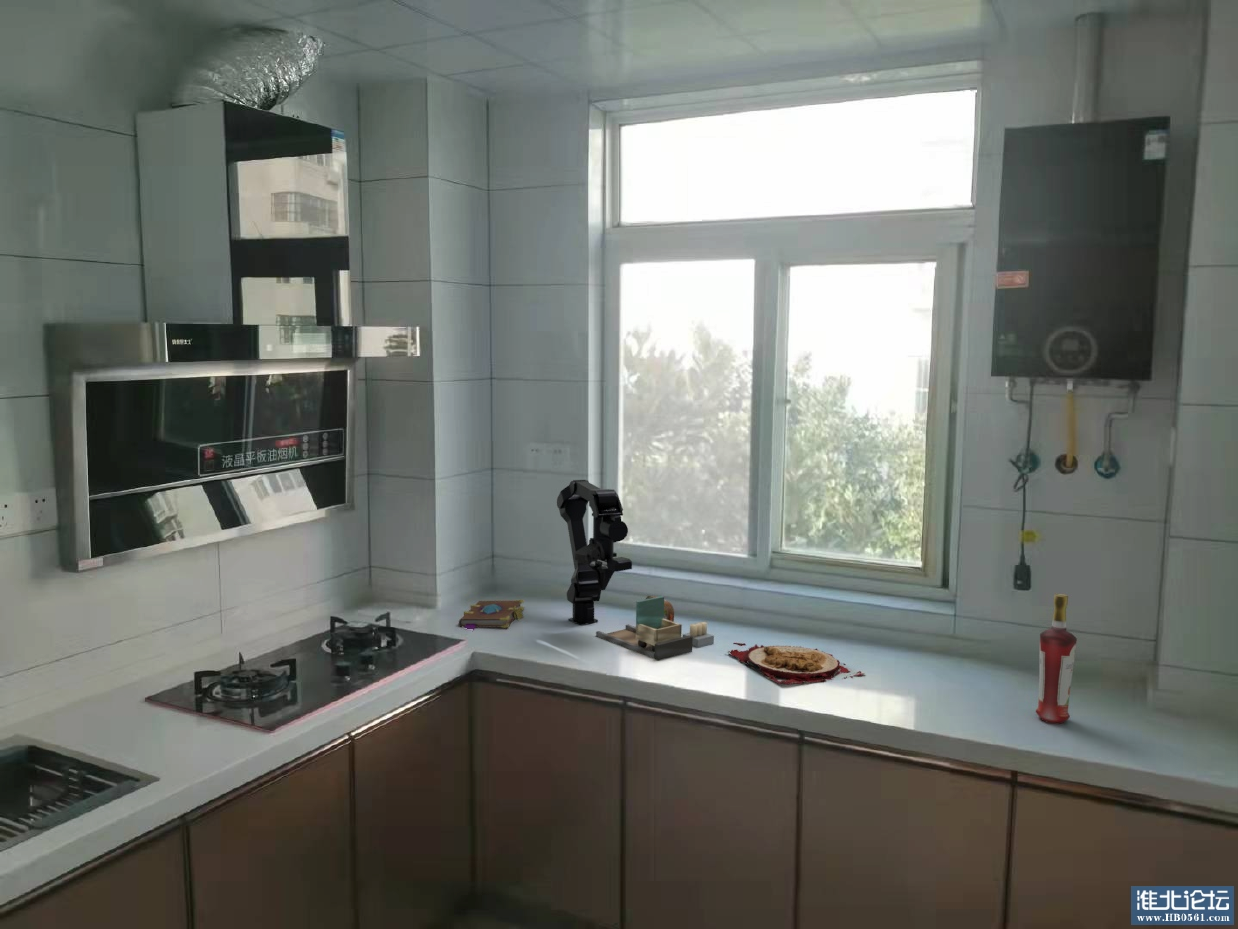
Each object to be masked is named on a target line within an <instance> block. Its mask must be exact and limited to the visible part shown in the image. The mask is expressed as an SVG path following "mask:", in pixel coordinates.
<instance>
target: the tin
mask: <svg viewBox="0 0 1238 929" xmlns="http://www.w3.org/2000/svg"><path fill="white" fill-rule="evenodd" d="M655 597H659V596H657V595H647V596H646V597H645V599H650V598H655ZM664 619H666V620H669V621H672V622H675V609H674V607H673V605H672V603H671V602H670V601H668V600H666V599H664Z"/></svg>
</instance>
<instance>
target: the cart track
mask: <svg viewBox="0 0 1238 929" xmlns="http://www.w3.org/2000/svg"><path fill="white" fill-rule="evenodd" d="M595 637H597V638H600V639H602V640H604V641H608V642H609V643H613V644H615V645H617V646H620V647H622V648H625V649H628V650H629V651H633V652H636V653H637V654H641V655H644V656H646V657H648V658H650V659H653V660H656V661H662V660H665V659H670V658H673V657H677V656H681V655H684V654H685V655H686V654H689V653H692V652H693V646H692V642H693V637H692V636H689V635H688V636H684V637H683V636H681V637H680V638H676V639H672V640H668V641H664V642H660V643H656V644H655V652H653V651H652V646H653V645H651V644H648V643H647V646H646V647H645V648H642V647H640V646H638V641H639V640H637V639H636V626H633V625H631V624H625V629H620V630H615V631H611V632H603V631H601V630H598V631H597V630H596V631H595Z"/></svg>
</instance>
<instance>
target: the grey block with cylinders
mask: <svg viewBox="0 0 1238 929" xmlns="http://www.w3.org/2000/svg"><path fill="white" fill-rule="evenodd" d="M707 628H708V623H707V622H706V621H701V622H696V623H693V624H689V632H685V633H682V637H684V636H688V635H689V636H692V637H693V642H692V647H695V648H702V647H707V646H710V645H714V643H715V641H714V640H715V639H714V638H715V635H713V634H710V633H709V632H708V631H707V630H708V629H707Z"/></svg>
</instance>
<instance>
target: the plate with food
mask: <svg viewBox="0 0 1238 929" xmlns="http://www.w3.org/2000/svg"><path fill="white" fill-rule="evenodd" d="M733 645H736V646H740V647H742V648H741V649H743V648H744V647H743V646H747V644H746V643H744V642H742V643H741V642H733ZM728 653H730V655H731V657H736V658H737V659H738V662H740V663H744V664H746V665H748V666H749V667H751V669H752V670H755V668H754V667H753V665H752V664H750V663H749V662H751V663H753V664H755V665H756V666H758V668H759V670H760V671H756V672H757V673H759V674H761V675H763V676H764V677H765V678H766V679H767V680H772V681H773V682H776V683H777V684H780V685H781V684H784V685H792V684H794V683H795V684H800V685H802V684H805V683H806V682H807V683H808V684H809V683H816V682H821V681H822V682H823V683H826V682H827V681H826V680H829V681H830V680H831V681H833V680H834V678H835V677H836V676H838V675H840V674H848V673H849V674H850V673H851V671H850V670H849V669H848V667H844V666H846V664H845V663H842V665H841V664H840V663H841V662H840V661H839V660H838V659H837V658H835V657H834V656H833V654H830V653H826V652H825V651H823V650H822V651H820V650H819V649H818V648H813V649H812V648H808V647H804V646H801V645H800V646H794V645H793V646H791V645H770V646H769V645H768V646H764V645H762V644H761V645H760V646H758V644H754V646H751V647H748V648H747V650H740V651H739V650H738V649H731V650H730V651H729V650H728ZM843 665H844V666H843ZM864 674H865V672H863V673H862V671H860V670H859V671H857V672H855V674H853V675H850V676H849V677H848V676H844V677H843V678H841V680H843V679H844V680H845V679H847V678H853V677H854V676H855V677H857V676H858V677H859V676H862V675H864ZM778 679H781V680H780V681H779V680H778Z"/></svg>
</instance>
